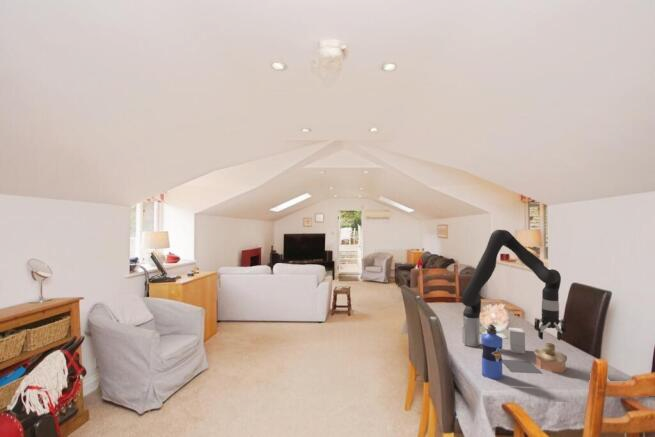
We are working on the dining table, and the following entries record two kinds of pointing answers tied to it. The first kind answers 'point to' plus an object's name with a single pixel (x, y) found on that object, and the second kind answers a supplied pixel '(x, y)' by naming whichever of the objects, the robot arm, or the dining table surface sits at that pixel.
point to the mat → (521, 366)
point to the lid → (550, 354)
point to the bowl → (550, 365)
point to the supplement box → (516, 340)
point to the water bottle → (491, 354)
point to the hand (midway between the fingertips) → (550, 339)
